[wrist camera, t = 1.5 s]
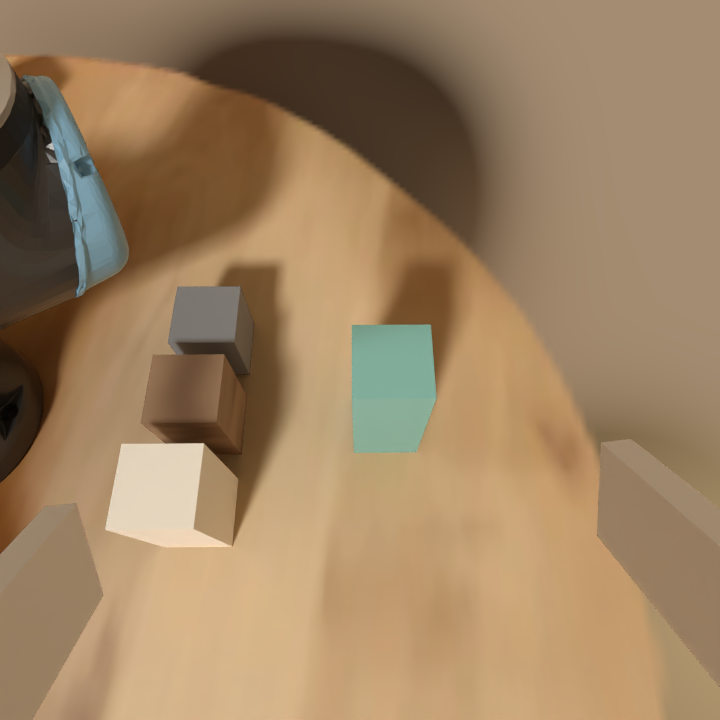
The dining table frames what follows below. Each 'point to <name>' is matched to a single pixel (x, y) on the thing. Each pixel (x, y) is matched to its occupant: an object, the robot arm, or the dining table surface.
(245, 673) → the dining table surface
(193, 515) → the cream block
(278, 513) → the dining table surface
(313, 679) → the dining table surface
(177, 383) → the walnut block
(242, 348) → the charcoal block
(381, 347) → the teal block
